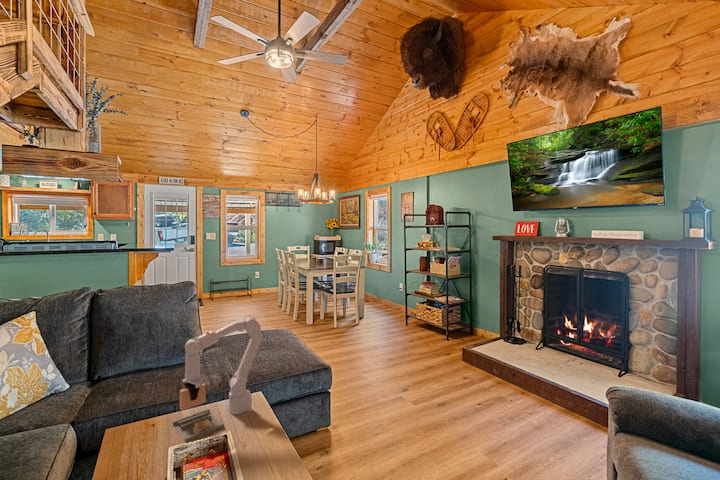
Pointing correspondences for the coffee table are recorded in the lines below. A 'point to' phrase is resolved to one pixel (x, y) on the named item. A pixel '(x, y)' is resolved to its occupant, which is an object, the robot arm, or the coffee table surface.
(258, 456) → the coffee table surface
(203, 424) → the offcut top
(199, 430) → the block
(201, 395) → the panel
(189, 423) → the rack
